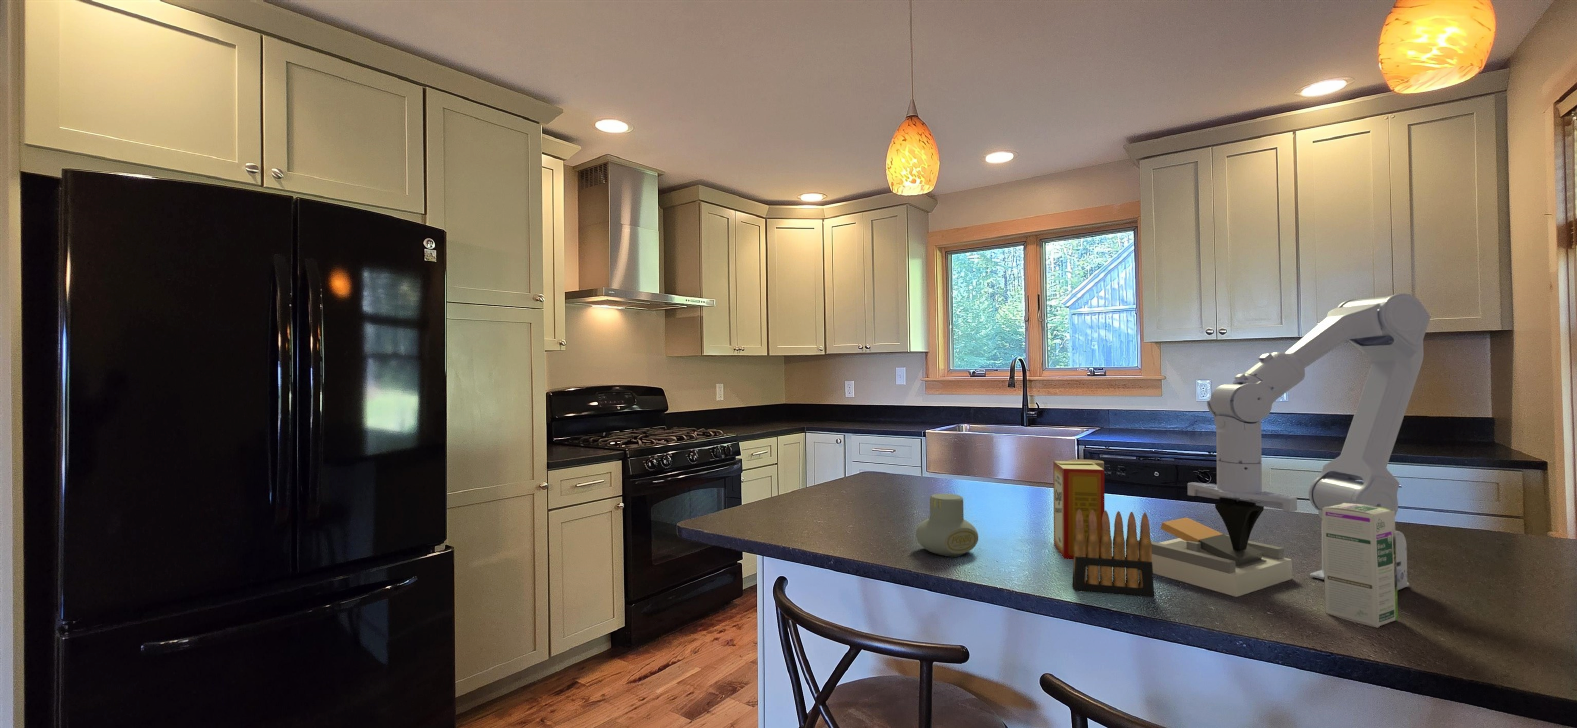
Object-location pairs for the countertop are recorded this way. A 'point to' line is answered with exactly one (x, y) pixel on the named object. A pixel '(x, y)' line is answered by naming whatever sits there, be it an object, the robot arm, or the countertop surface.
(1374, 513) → the syrup box
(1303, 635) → the countertop surface
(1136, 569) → the ammunition clip
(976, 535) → the air freshener
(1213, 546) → the breaker rocker
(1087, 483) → the baking soda box
